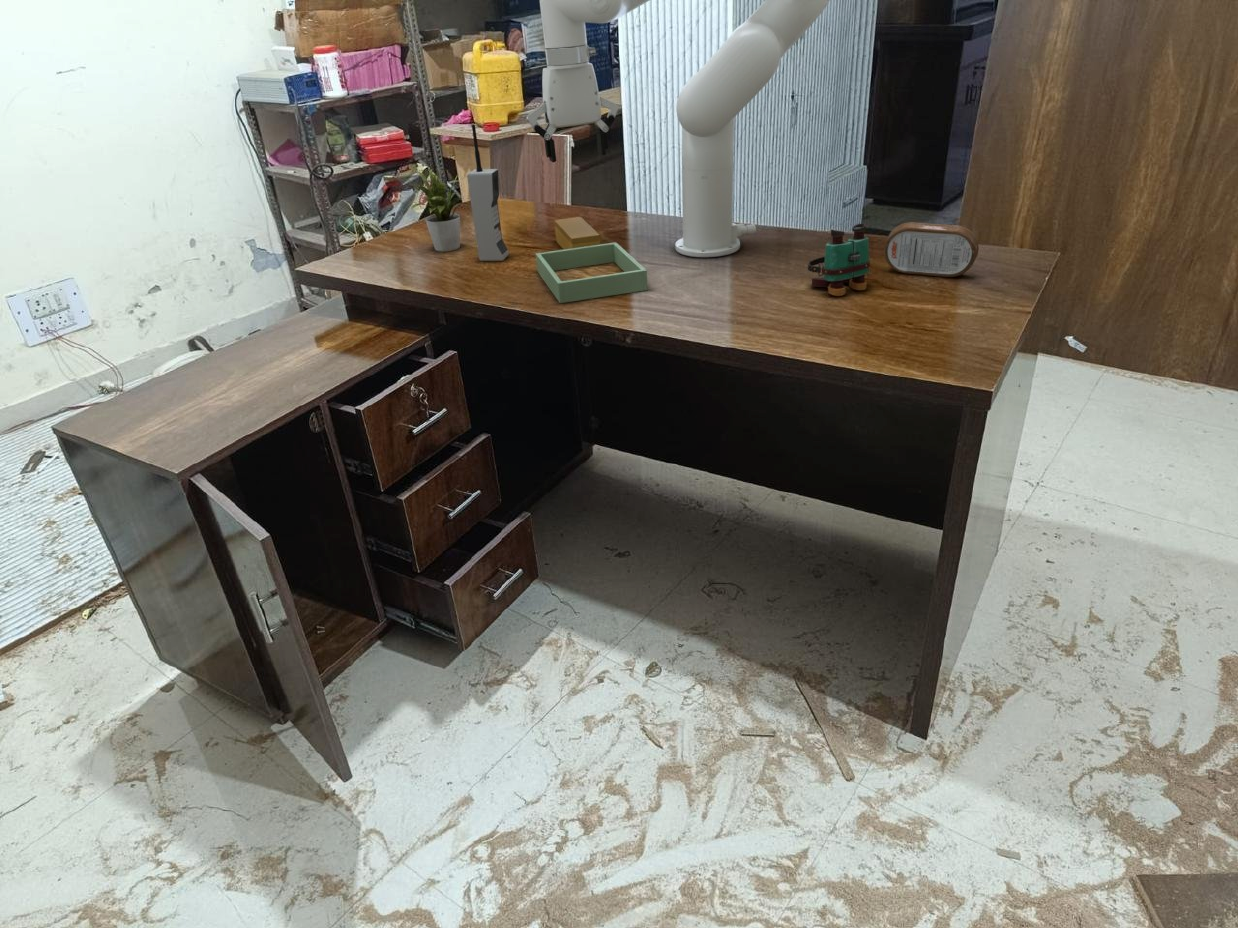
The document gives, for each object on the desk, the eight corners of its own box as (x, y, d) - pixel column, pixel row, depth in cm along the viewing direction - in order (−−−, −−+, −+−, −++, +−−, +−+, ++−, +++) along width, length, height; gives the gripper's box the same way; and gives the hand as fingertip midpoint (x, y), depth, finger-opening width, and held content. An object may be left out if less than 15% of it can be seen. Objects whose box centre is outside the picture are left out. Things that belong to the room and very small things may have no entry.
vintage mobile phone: (503, 261, 163) (485, 125, 151) (479, 261, 164) (459, 126, 152) (509, 255, 167) (492, 122, 154) (485, 255, 168) (466, 122, 155)
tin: (974, 275, 142) (982, 225, 138) (972, 281, 140) (981, 230, 135) (883, 267, 148) (888, 219, 144) (880, 273, 145) (885, 224, 141)
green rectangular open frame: (617, 260, 160) (616, 242, 158) (647, 290, 145) (646, 270, 143) (537, 272, 157) (535, 253, 155) (560, 303, 141) (558, 283, 139)
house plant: (393, 251, 174) (377, 169, 166) (445, 234, 183) (433, 156, 174) (437, 261, 166) (422, 176, 157) (489, 244, 175) (478, 162, 166)
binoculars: (838, 217, 142) (880, 223, 134) (837, 279, 146) (878, 288, 138) (796, 226, 139) (836, 233, 130) (796, 289, 143) (835, 299, 135)
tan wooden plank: (582, 237, 175) (580, 216, 173) (601, 257, 162) (599, 234, 160) (556, 241, 174) (554, 220, 171) (573, 261, 161) (571, 238, 159)
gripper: (607, 51, 155) (615, 148, 163) (516, 62, 151) (529, 160, 160) (619, 53, 148) (626, 154, 157) (523, 65, 145) (537, 167, 154)
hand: (577, 157), depth 158 cm, fingers open, 9 cm apart
